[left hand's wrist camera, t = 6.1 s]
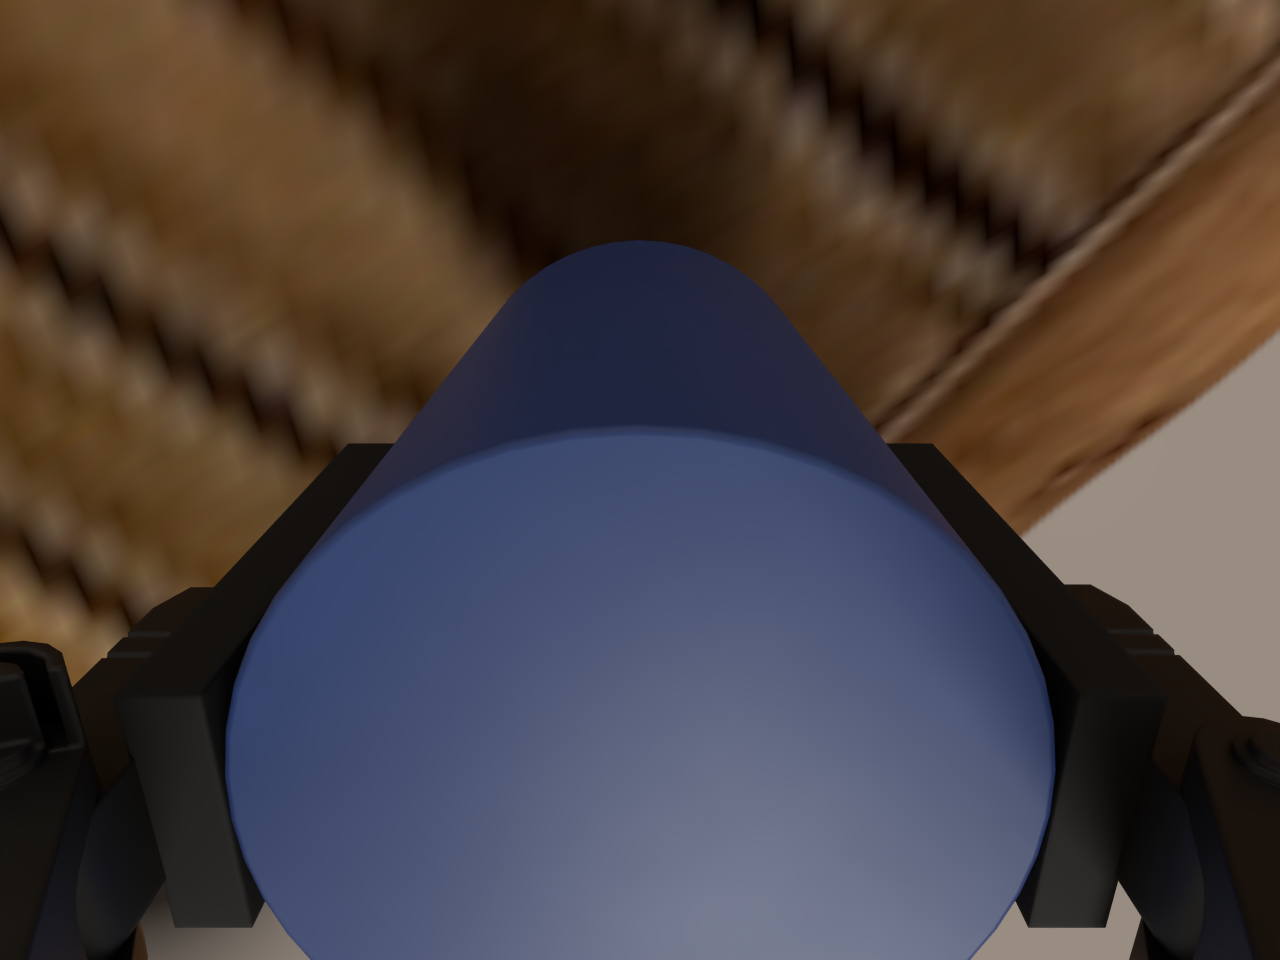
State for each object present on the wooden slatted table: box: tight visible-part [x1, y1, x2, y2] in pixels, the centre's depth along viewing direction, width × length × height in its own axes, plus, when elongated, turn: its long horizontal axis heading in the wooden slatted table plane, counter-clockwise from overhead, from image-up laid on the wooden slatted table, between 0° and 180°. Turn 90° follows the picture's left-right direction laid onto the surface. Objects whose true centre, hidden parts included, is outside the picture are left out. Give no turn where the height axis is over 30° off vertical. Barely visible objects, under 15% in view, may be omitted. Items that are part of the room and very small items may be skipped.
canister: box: [225, 240, 1056, 960], centre depth 14 cm, size 8×8×12 cm
